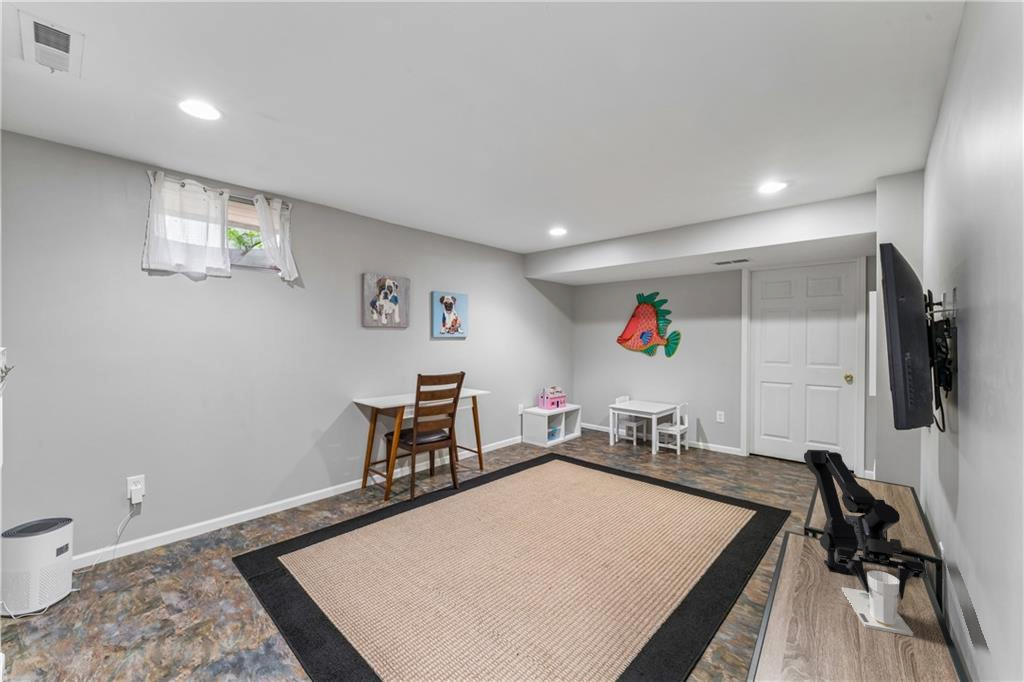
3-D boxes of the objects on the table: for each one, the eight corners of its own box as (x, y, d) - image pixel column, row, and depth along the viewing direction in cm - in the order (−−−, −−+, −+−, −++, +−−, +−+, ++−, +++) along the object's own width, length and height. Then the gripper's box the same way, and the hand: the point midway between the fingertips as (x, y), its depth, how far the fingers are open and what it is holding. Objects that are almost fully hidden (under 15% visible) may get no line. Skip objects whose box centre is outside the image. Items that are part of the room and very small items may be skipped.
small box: (878, 544, 157) (878, 516, 157) (889, 553, 150) (888, 523, 150) (844, 541, 160) (844, 513, 160) (853, 550, 153) (853, 521, 153)
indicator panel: (841, 589, 130) (841, 586, 130) (882, 596, 126) (882, 593, 126) (865, 627, 113) (865, 623, 113) (913, 636, 109) (913, 632, 109)
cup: (866, 607, 119) (866, 567, 119) (898, 616, 115) (898, 575, 115) (867, 619, 114) (866, 578, 114) (900, 630, 110) (900, 587, 109)
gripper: (835, 518, 122) (845, 577, 112) (923, 531, 113) (941, 595, 103) (830, 534, 129) (838, 590, 119) (912, 547, 120) (928, 609, 111)
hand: (884, 595), depth 113 cm, fingers open, 6 cm apart
